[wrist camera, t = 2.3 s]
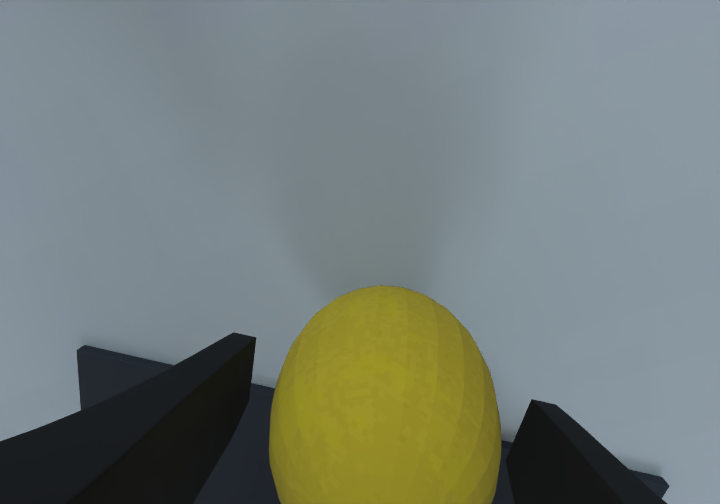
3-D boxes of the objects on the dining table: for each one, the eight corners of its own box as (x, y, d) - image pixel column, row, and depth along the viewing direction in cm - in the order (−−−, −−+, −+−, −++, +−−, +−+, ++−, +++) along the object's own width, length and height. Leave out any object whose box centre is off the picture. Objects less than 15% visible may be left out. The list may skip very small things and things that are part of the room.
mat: (575, 615, 17) (580, 626, 16) (94, 498, 17) (87, 506, 17) (662, 476, 14) (670, 486, 13) (84, 344, 15) (76, 350, 14)
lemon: (314, 245, 12) (186, 412, 5) (474, 259, 12) (614, 464, 4) (312, 377, 14) (213, 657, 6) (452, 393, 14) (524, 711, 6)
